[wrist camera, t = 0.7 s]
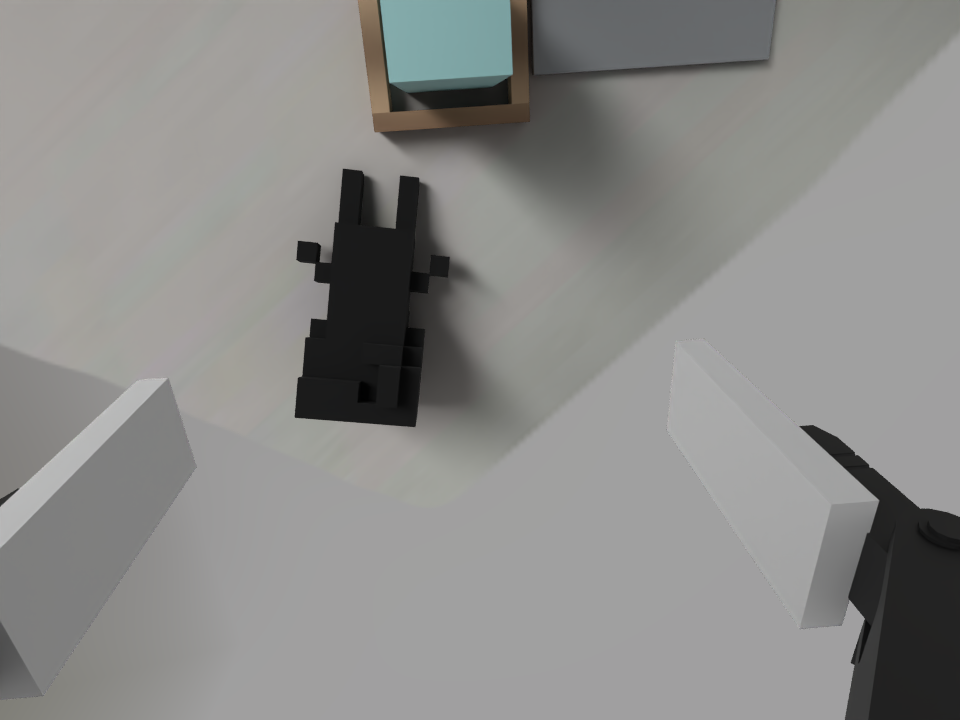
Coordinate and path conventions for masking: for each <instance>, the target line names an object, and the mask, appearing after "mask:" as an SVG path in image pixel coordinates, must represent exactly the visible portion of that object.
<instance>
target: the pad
mask: <svg viewBox="0 0 960 720" xmlns="http://www.w3.org/2000/svg"><path fill="white" fill-rule="evenodd" d="M775 5H776V0H531V33H532V75H546V74H561V73H576V72H591V71H606V70H621V69H636V68H651V67H666V66H681V65H696V64H712V63H727V62H742V61H757V60H767V59H769V54H770V46H771V38H772V30H773V22H774V14H775Z"/></svg>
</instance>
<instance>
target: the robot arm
mask: <svg viewBox="0 0 960 720" xmlns="http://www.w3.org/2000/svg"><path fill="white" fill-rule="evenodd" d="M667 432H668V433H669V435H670V436H671V438H672V439H673V441H674V442H675V444H676V445H677V447H678V448H679V450H680V451H681V453H682V454H683V456H684V457H685V459H686V460H687V462H688V463H689V465H690V466H691V468H692V469H693V471H694V472H695V474H696V475H697V477H698V478H699V480H700V481H701V483H702V484H703V486H704V487H705V489H706V490H707V491H708V493H709V495H710V496H711V498H712V499H713V501H714V502H715V504H716V505H717V507H718V508H719V510H720V511H721V512H722V514H723V515H724V517H725V519H726V520H727V521H728V523H729V524H730V526H731V527H732V529H733V530H734V532H735V533H736V535H737V536H738V538H739V539H740V541H741V542H742V544H743V545H744V547H745V548H746V550H747V551H748V552H749V554H750V556H751V557H752V559H753V560H754V562H755V563H756V565H757V566H758V568H759V569H760V571H761V572H762V574H763V575H764V577H765V578H766V580H767V581H768V583H769V584H770V586H771V587H772V589H773V590H774V592H775V593H776V595H777V596H778V597H779V599H780V600H781V602H782V604H783V605H784V606H785V608H786V610H787V611H788V612H789V614H790V616H791V617H792V619H793V620H794V621H795V623H796V625H797V626H798V627H799V629H806V628H818V627H829V626H840V625H842V623H843V620H844V617H845V613H846V610H847V606H848V603H849V600H850V601H851V602H852V603H853V604H854V606H855V607H856V608H857V609H858V611H859V612H860V613H861V614H862V615H863V616H864V618H865V620H864V623H863V626H862V629H861V632H860V635H859V639H858V642H857V645H856V648H855V651H854V654H853V657H852V660H851V663H852V664H854V665H855V666H854V671H853V677H852V683H851V688H850V694H849V700H848V705H847V711H846V717H845V720H960V517H958V516H956V515H953V514H950V513H947V512H943V511H938V510H933V509H920V508H919V507H917V506H916V505H915V504H914V503H913V502H912V501H911V500H909V499H908V498H907V497H906V496H905V495H903V494H902V493H901V492H900V491H899V490H898V489H897V488H895V487H894V486H893V485H892V484H891V483H890V482H888V481H887V480H886V479H885V478H884V477H883V476H882V475H880V474H879V473H878V472H877V471H876V470H875V469H873V468H869V464H867V463H866V462H865V461H864V460H863V459H862V458H861V457H860V456H858V455H856V456H855V452H854V451H853V450H851V449H850V448H849V447H848V446H847V445H846V444H844V443H843V442H842V441H841V440H840V439H839V438H837V437H836V436H833V435H832V434H829V433H828V432H826V431H823V430H821V429H820V428H818V427H815V426H814V425H809V426H798V425H797V424H796V423H795V422H794V421H793V420H792V419H790V418H789V417H788V416H787V415H786V414H785V413H784V412H783V411H782V410H781V409H780V408H779V407H777V406H776V405H775V404H774V403H773V402H772V401H771V400H770V399H769V398H768V397H767V396H765V395H764V394H763V393H762V392H761V391H760V390H759V389H758V388H757V387H756V386H755V385H754V384H753V383H751V382H750V381H749V380H748V379H747V378H746V377H745V376H744V375H743V374H742V373H741V372H740V371H739V370H738V369H736V368H735V367H734V366H733V365H732V364H731V363H730V362H729V361H728V360H727V359H726V358H725V357H723V356H722V355H721V354H720V353H719V352H718V351H717V350H716V349H715V348H714V347H713V346H712V345H710V344H709V343H708V342H707V341H706V340H705V339H693V340H680V341H675V351H674V361H673V371H672V381H671V391H670V401H669V411H668V421H667ZM195 469H196V463H195V460H194V457H193V454H192V451H191V447H190V444H189V441H188V438H187V435H186V432H185V428H184V426H183V422H182V419H181V416H180V413H179V410H178V406H177V403H176V400H175V397H174V394H173V391H172V387H171V384H170V381H169V378H157V379H143V380H137V381H136V382H135V383H134V384H133V385H132V386H131V387H130V388H129V389H127V390H126V391H125V392H124V393H123V394H122V395H121V396H120V397H119V398H118V399H117V400H116V401H114V402H113V403H112V404H111V405H110V406H109V407H108V408H107V409H106V410H105V411H104V412H103V413H101V414H100V415H99V416H98V417H97V418H96V419H95V420H94V421H93V422H92V423H91V424H90V425H89V426H88V427H86V428H85V429H84V430H83V431H82V432H81V433H80V434H79V435H78V436H76V437H75V438H74V439H73V440H72V441H71V442H70V443H69V444H68V445H67V446H66V447H65V448H64V449H62V450H61V451H60V452H59V453H58V454H57V455H56V456H55V457H54V458H53V459H52V460H50V461H49V462H48V463H47V464H46V465H45V466H44V467H43V468H42V469H41V470H40V471H39V472H37V473H36V474H35V475H34V476H33V477H32V478H31V479H30V480H29V481H28V482H27V483H26V484H24V485H23V486H22V487H21V488H20V489H16V490H15V491H13V492H11V493H10V494H8V495H7V496H5V497H3V498H1V499H0V700H4V699H16V698H26V697H38V696H44V694H45V693H46V691H47V690H48V688H49V687H50V685H51V684H52V682H53V680H54V679H55V678H56V676H57V675H58V673H59V672H60V670H61V669H62V667H63V666H64V664H65V663H66V661H67V660H68V658H69V657H70V655H71V654H72V652H73V651H74V649H75V648H76V646H77V645H78V643H79V642H80V640H81V639H82V637H83V636H84V634H85V633H86V631H87V630H88V628H89V627H90V625H91V624H92V623H93V621H94V619H95V618H96V617H97V615H98V613H99V612H100V610H101V609H102V608H103V606H104V605H105V603H106V602H107V600H108V599H109V597H110V595H111V594H112V593H113V591H114V590H115V588H116V587H117V585H118V584H119V582H120V580H121V579H122V578H123V576H124V575H125V573H126V572H127V570H128V569H129V567H130V566H131V564H132V563H133V561H134V560H135V558H136V557H137V555H138V554H139V552H140V551H141V549H142V548H143V546H144V545H145V543H146V542H147V540H148V539H149V537H150V536H151V534H152V533H153V531H154V530H155V528H156V527H157V525H158V524H159V522H160V521H161V519H162V518H163V516H164V515H165V514H166V512H167V511H168V509H169V508H170V506H171V505H172V503H173V502H174V500H175V498H176V497H177V496H178V494H179V492H180V491H181V490H182V488H183V487H184V485H185V483H186V482H187V481H188V479H189V478H190V476H191V475H192V473H193V472H194V470H195Z"/></svg>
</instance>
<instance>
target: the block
mask: <svg viewBox="0 0 960 720" xmlns="http://www.w3.org/2000/svg"><path fill="white" fill-rule="evenodd" d="M380 5H381V14H382V23H383V31H384V40H385V49H386V58H387V67H388V76H389V83H391V84H392V85H394V86H396V87H398V88H399V89H401V90H403V91H405V92H407V93H416V92H431V91H446V90H461V89H476V88H491V87H493V86H494V85H496V84H498V83H499V82H501V81H503V80H504V79H506V78H508V77H509V76H511V75H513V68H512V40H511V12H510V0H380Z"/></svg>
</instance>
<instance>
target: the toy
mask: <svg viewBox="0 0 960 720" xmlns="http://www.w3.org/2000/svg"><path fill="white" fill-rule="evenodd" d="M363 186H364V174H363V172H362V171H358V170H350V169H343V175H342V187H341V199H340V211H339V222H338V223H337V222H335V230H334V242H333V254H332V263H322V262H320V251H321V245H319V244H318V243H314V242H305V241H298V247H297V259H296V260H298V261H299V262H303V263H313V264H316V266H315V278H314V281H316V282H318V283H328V284H330V290H329V302H328V314H327V320H321V319H311V327H310V337H306V338H305V351H304V363H303V375H302V377H299V378H298V383H297V396H296V408H295V418H306V419H318V420H331V421H344V422H357V423H370V424H382V425H395V426H408V427H415V426H416V419H417V411H418V400H419V390H420V379H421V368H422V357H423V345H424V333H425V329H416V328H408V321H409V303H410V292H418V293H428V286H429V276H439V277H448V270H449V259H450V257H445V256H436V255H431V262H430V273H429V274H428V273H419V272H412V269H413V258H414V246H415V227H416V216H417V205H418V193H419V178H417V177H409V176H400V184H399V196H398V207H397V219H396V229H392V228H383V227H374V226H364V225H360V221H361V210H362V198H363Z"/></svg>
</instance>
